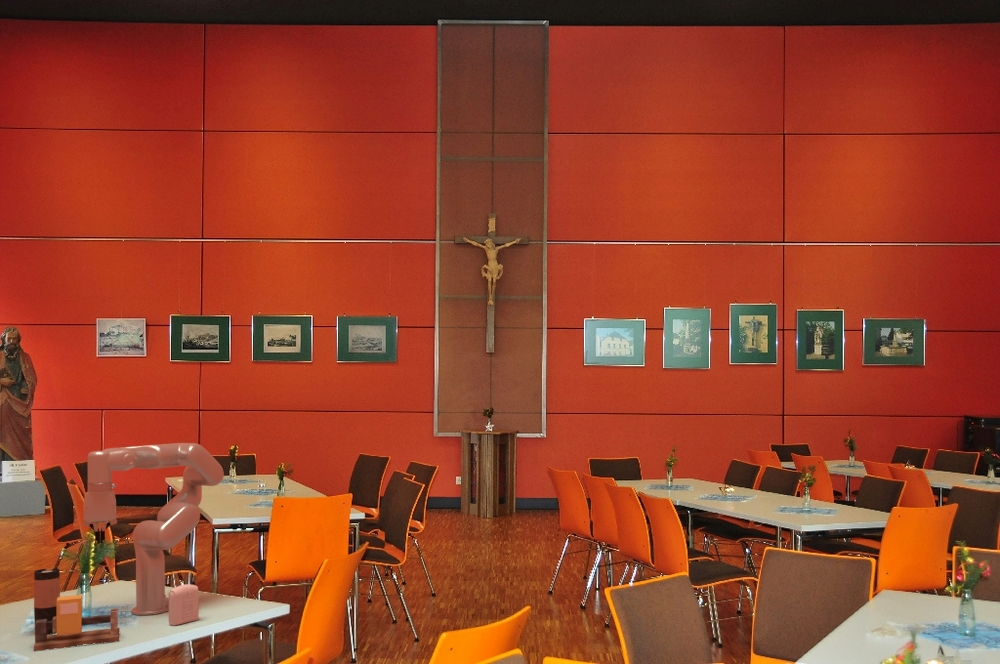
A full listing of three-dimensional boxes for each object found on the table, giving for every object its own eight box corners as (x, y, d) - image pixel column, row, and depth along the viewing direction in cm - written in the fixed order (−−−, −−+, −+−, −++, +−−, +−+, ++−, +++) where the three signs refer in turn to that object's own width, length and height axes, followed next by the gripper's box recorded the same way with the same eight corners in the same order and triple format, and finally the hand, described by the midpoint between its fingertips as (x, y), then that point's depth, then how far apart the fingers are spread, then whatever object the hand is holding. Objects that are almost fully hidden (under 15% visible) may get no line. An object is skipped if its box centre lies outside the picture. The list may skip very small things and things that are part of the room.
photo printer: (192, 618, 327) (192, 581, 327) (200, 619, 324) (200, 582, 325) (166, 625, 318) (166, 587, 319) (174, 626, 316) (174, 588, 317)
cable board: (119, 632, 310) (119, 605, 311) (119, 641, 299) (118, 613, 300) (37, 641, 302) (37, 614, 302) (33, 651, 291) (33, 622, 291)
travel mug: (43, 636, 307) (43, 573, 308) (29, 633, 312) (29, 571, 312) (65, 630, 314) (64, 569, 315) (50, 628, 318) (50, 567, 319)
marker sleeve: (82, 628, 304) (82, 594, 304) (81, 632, 298) (81, 598, 299) (57, 631, 301) (57, 597, 302) (56, 635, 296) (56, 600, 296)
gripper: (123, 485, 330) (124, 539, 329) (76, 488, 324) (76, 543, 323) (123, 487, 323) (123, 542, 322) (75, 490, 317) (75, 546, 316)
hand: (100, 542), depth 323 cm, fingers closed
